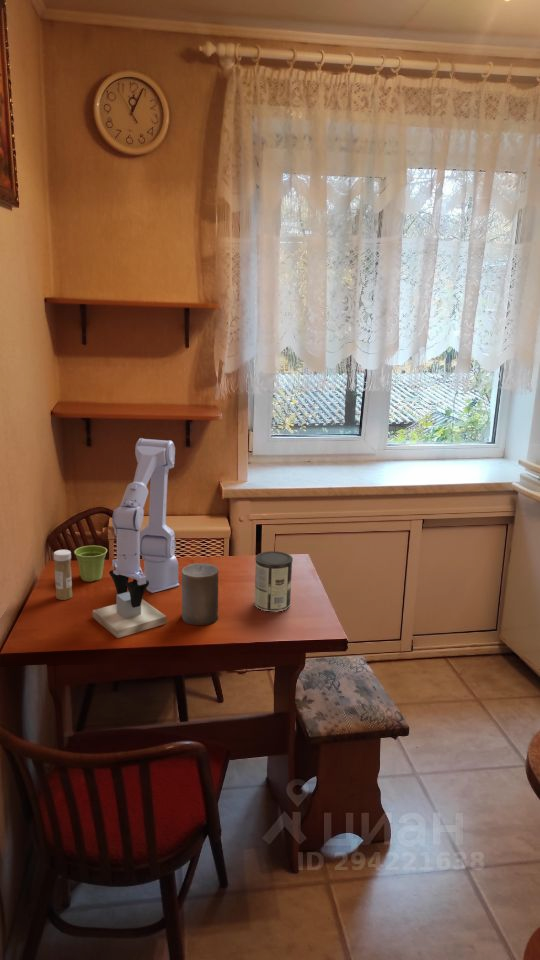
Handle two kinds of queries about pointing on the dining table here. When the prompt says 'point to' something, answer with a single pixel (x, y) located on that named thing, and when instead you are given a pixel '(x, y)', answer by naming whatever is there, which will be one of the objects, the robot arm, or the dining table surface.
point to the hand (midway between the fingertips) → (129, 601)
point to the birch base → (129, 620)
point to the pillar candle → (200, 594)
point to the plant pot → (91, 562)
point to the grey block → (126, 606)
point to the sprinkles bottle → (63, 574)
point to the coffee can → (273, 581)
